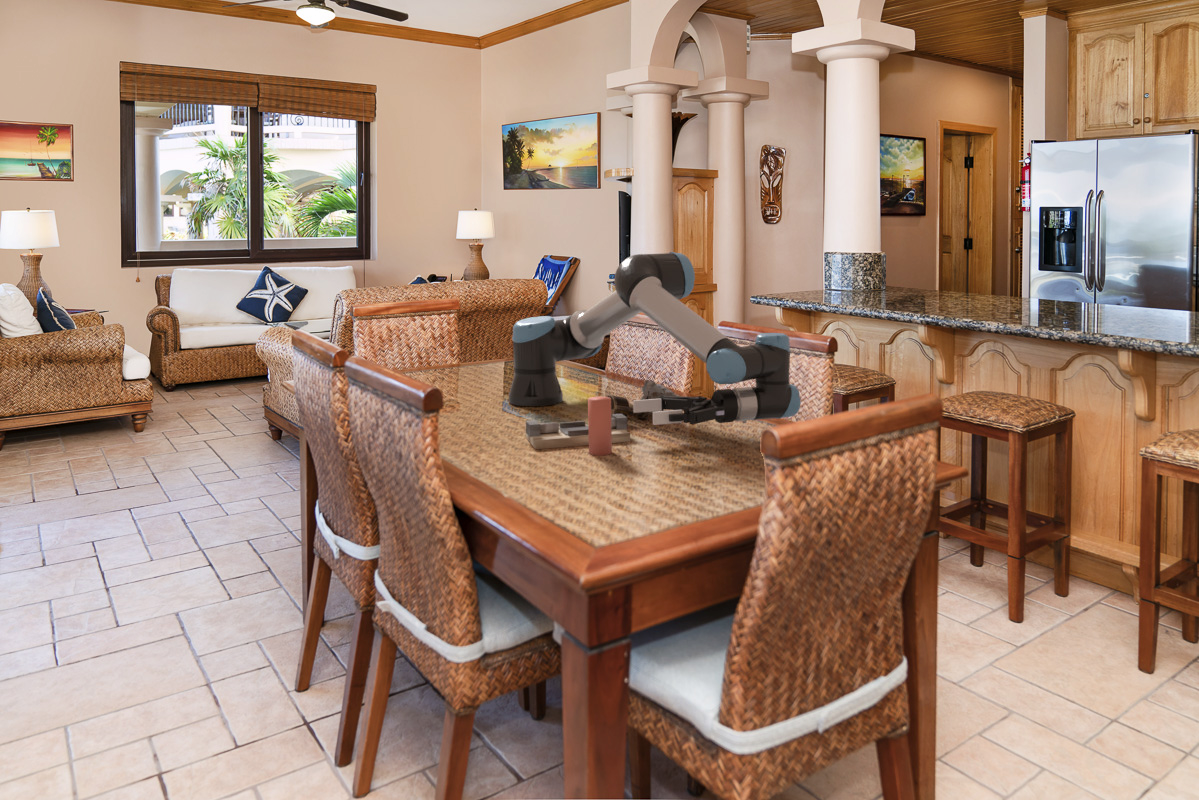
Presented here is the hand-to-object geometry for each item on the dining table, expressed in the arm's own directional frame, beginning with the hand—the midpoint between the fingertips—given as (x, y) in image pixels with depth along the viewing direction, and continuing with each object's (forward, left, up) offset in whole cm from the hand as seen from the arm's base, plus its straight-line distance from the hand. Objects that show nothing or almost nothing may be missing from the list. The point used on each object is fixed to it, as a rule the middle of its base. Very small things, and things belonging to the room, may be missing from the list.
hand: (642, 412), depth 197 cm
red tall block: (-4, -9, -8) cm, 13 cm away
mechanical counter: (-23, +16, -8) cm, 29 cm away
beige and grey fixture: (-17, -5, -8) cm, 20 cm away
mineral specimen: (-25, +28, -8) cm, 38 cm away
